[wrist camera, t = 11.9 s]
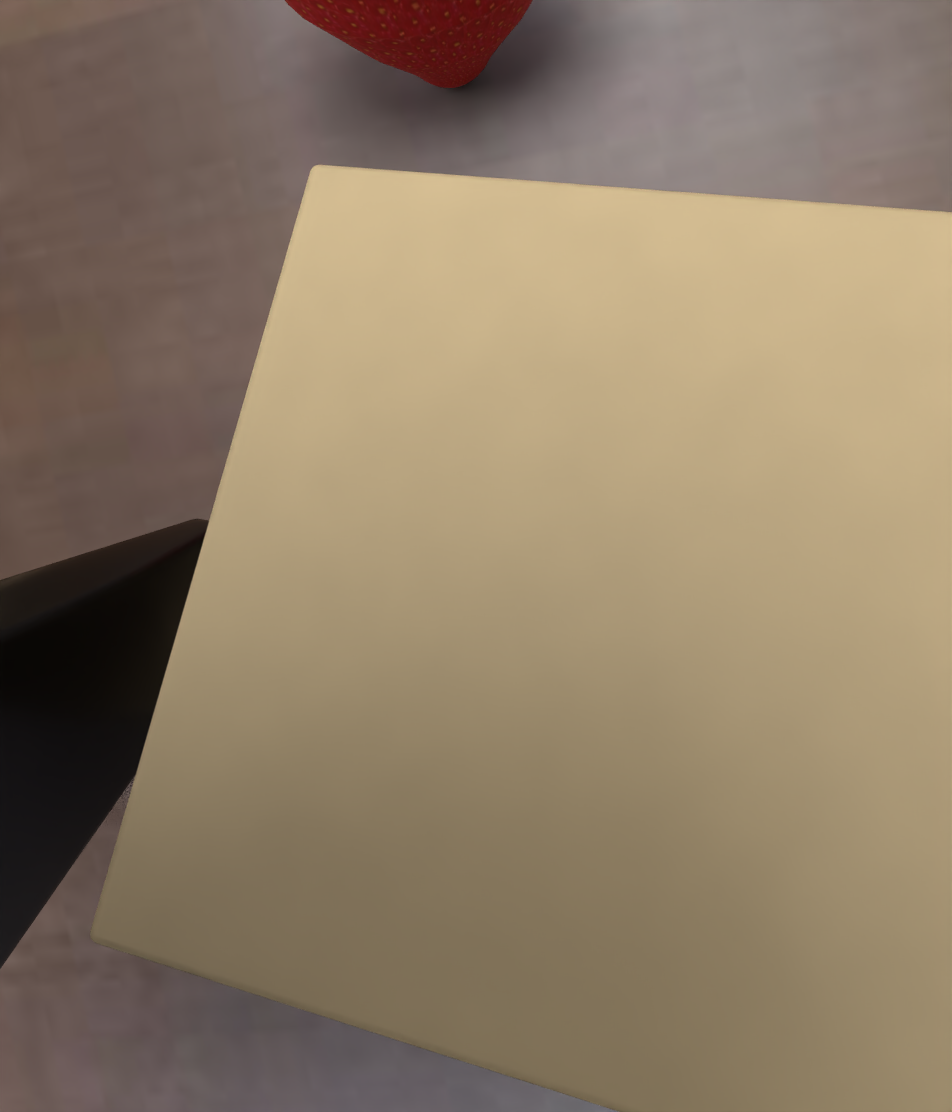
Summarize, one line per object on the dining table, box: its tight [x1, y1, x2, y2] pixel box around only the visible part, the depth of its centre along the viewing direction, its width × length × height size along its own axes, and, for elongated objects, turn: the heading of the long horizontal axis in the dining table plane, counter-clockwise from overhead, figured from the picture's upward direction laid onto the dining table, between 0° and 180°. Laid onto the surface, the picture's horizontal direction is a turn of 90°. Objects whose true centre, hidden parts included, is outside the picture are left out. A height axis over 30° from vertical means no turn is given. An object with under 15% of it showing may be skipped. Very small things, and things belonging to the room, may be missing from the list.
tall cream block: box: [90, 165, 952, 1112], centre depth 10 cm, size 5×5×12 cm
